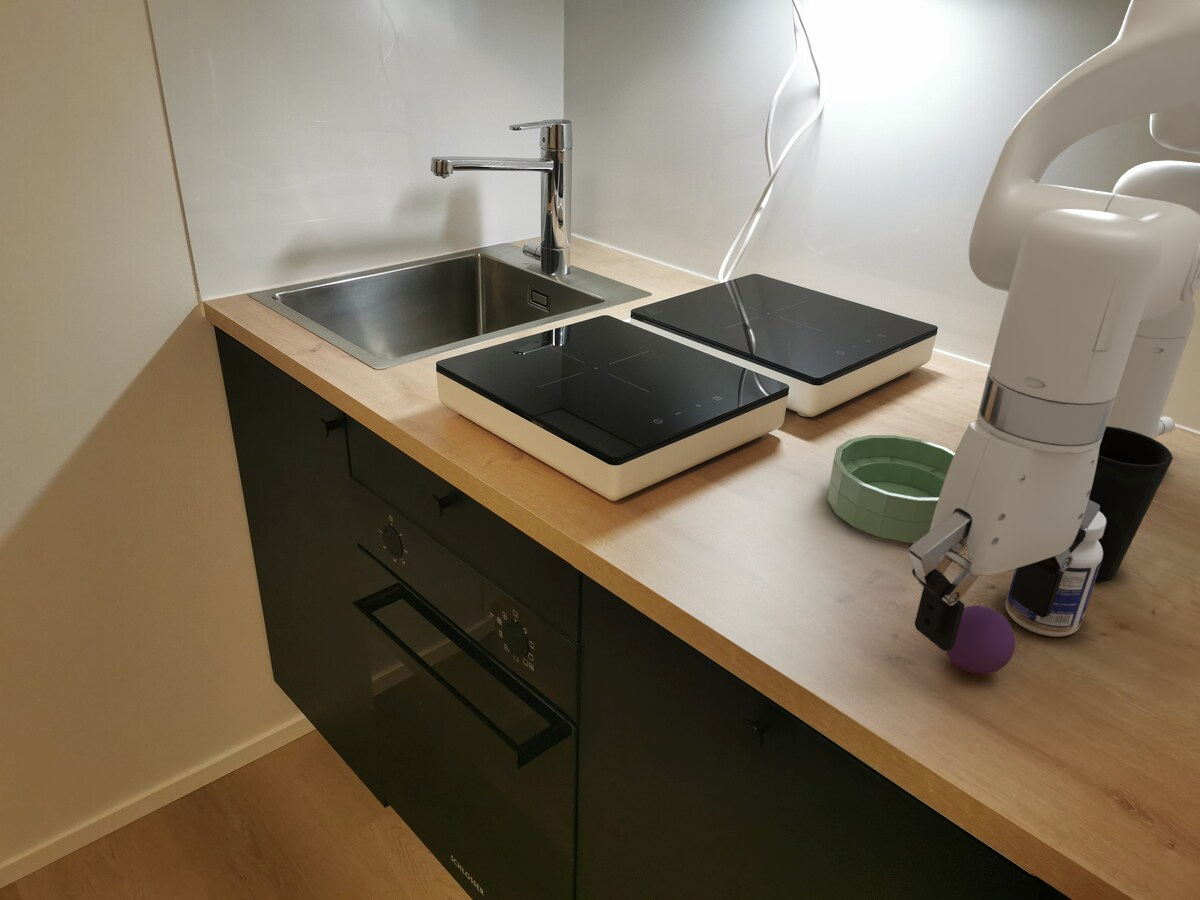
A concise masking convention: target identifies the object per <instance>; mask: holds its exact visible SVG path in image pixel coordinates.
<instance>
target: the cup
mask: <svg viewBox="0 0 1200 900" xmlns="http://www.w3.org/2000/svg"><path fill="white" fill-rule="evenodd" d="M1173 459H1174V458H1173V454H1172V452H1171V451H1170V450H1169V448H1168V447H1167V446H1165V445H1164V444H1163V443H1162V442H1159V441H1158V440H1156V439H1152V438H1150V437H1148V436H1145V435H1143V434H1140V433H1137V432H1133V431H1130V430H1126V429H1121V428H1116V427H1109V426H1106V429H1105V432H1104V435H1103V438H1102V441H1101V444H1100V448H1099V454H1098V460H1097V466H1096V471H1095V475H1094V480H1093V484H1092V488H1091V492H1090V496H1089V499H1090V500H1091V501H1093V502H1095V503H1097V504H1099V505H1100V509H1099V511H1100V512H1101V513H1102V514H1103V515H1104V516H1105V518H1106V526H1105V529H1104V533H1103V536H1102V537H1101V538H1100V539H1099V540H1098V541H1099V543H1100V544H1101V546H1102V549H1103V557H1102V561H1101V565H1100V568H1099V571H1098V574H1097V577H1096V580H1095V583H1104V582H1108V581H1111V580H1112V579H1114V578H1115V577H1116V575H1117V573H1118V570H1119V569H1120V567H1121V564H1122V563H1123V561H1124V558H1125V556H1126V554H1127V552H1128V551H1129V549H1130V546H1131V544H1132V542H1133V540H1134V539H1135V536H1136V534H1137V532H1138V530H1139V529H1140V526H1141V524H1142V522H1143V520H1144V519H1145V517H1146V514H1147V512H1148V510H1149V508H1150V506H1151V504H1152V502H1153V500H1154V498H1155V496H1156V494H1157V492H1158V490H1159V488H1160V486H1161V484H1162V483H1163V479H1164V478H1165V475H1166V474H1167V471H1168V470H1169V467H1171V464H1172V462H1173Z"/></svg>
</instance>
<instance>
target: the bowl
mask: <svg viewBox="0 0 1200 900" xmlns="http://www.w3.org/2000/svg"><path fill="white" fill-rule="evenodd" d="M954 454H955V451H952V450H950V449H949V448H947V447H945V446H942V445H939V444H935V443H933V442H929V441H927V440H923V439H920V438H914V437H908V436H902V435H895V434H872V435H871V434H868V435H864V436H860V437H854V438H850V439H848V440H846V441H844V443H842V444H840V445H839V446H838V447H836V449H835V453H834V457H833V462H832V467H831V468H832V469H831V473H830V474H831V475H830V480H829V485H828V492H827V496H826V500H827V501H828V503H829V505H830V507H831V509H832V511H833V512H834V513H835V515H837V516H838V517H840V519H842V520H844V521H845V522H846V523H847V524H849V525H851V526H852V527H854V528H855V529H857V530H860V531H863V532H865V533H867V534H870V535H872V536H875V537H877V538H882V539H887V540H891V541H896V542H903V543H907V544H908V543H909V544H914V543H915V542H917V541H918V540H919V539H921V538H922V537H923V536H925V535H926V534H927V533H928V532H930V527H931V523H932V520H933V516H934V512H935V509H936V506H937V502H938V499H939V496H940V493H941V490H942V487H943V484H944V481H945V478H946V475H947V472H948V469H949V467H950V464H951V462H952V459H953V457H954Z"/></svg>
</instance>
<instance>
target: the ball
mask: <svg viewBox="0 0 1200 900" xmlns="http://www.w3.org/2000/svg"><path fill="white" fill-rule="evenodd" d="M1015 648H1016V636H1015V632H1014V630H1013V627H1012V625H1011V624H1010V622H1009V621H1008V620H1007V618H1006V617H1005V616H1004V615H1003V614H1002V613H1000V612H999V611H997V610H995V609H993V608H992V607H988V606H985V605H976V604H975V605H968V606H964V611H963V615H962V618H961V622H960V626H959V629H958V633H957V637H956V640H955V644H954V647H953V649H951V650H948V651H945V653H946V655H947V656H948V658H949V659H950V661H951V662H952V663H953V664H954V665H955V666H957V667H959V668H960V669H961V670H963V671H965V672H968V673H971V674H975V675H988V674H992V673H996V672H998V671H1000V670H1001V669H1003V668H1004V667H1005V666H1006V665H1007V664H1008V663H1009V662H1010V661H1011V659H1012V657H1013V655H1014V652H1015V650H1016V649H1015Z"/></svg>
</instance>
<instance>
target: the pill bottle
mask: <svg viewBox="0 0 1200 900" xmlns="http://www.w3.org/2000/svg"><path fill="white" fill-rule="evenodd" d="M1105 526H1106V518H1105V516H1104V515H1103V514H1102V513H1101V512H1100V511H1098V513H1097V514H1096V516H1095V518H1094V519H1093V521H1092V522H1091V524H1090V525H1089V527H1088V528H1087V529H1086V528H1085V529H1084V530H1085V531H1086V535H1085V538H1084V539H1083V540H1084V541H1083V542H1081V543H1080V544H1079V545H1078V546H1077V547H1076V549H1075V550H1074V551H1073V552H1072V553H1071V555H1072V557H1073V561H1072V563H1071V565H1070V566H1069V567H1068V568H1067V569H1065V570H1061V569H1059V570H1060V571H1061V572H1063V576H1062V579H1061V583H1060V586H1059V589H1058V592H1057V595H1056V598H1055V601H1054V604H1053V607H1052V610H1051V613H1050V615H1049V616H1046V617H1043V618H1042V617H1040V616H1038V615H1036V614H1035V613H1033V612H1032V611H1030V610H1029V609H1028V608H1026V607H1025V606H1023V605H1022V604H1020V603H1019V602H1017V601H1016V600H1014V599H1013V598H1012V597H1011V596H1010V592H1011V589H1012V586H1013V582H1014V579H1015V576H1016V572H1017V569H1018V568H1016V569H1014V572H1013V575H1012V579H1011V582H1010V586H1009V589H1008V593H1007V596H1006V600H1005V610H1006V611H1007V614H1008V615H1009V617H1010V618H1011V619H1012V620H1013V621H1014V622H1016V624H1018V625H1019V626H1021V627H1022V628H1023V629H1025V630H1028V631H1030V632H1032V633H1035V634H1037V635H1038V634H1039V635H1042V636H1047V637H1057V638H1058V637H1067V636H1070V635H1072V634H1074V633H1076V632H1077V631H1078V630H1079V629H1080V627H1081V626H1082V623H1083V620H1084V617H1085V614H1086V611H1087V608H1088V605H1089V602H1090V599H1091V595H1092V593H1093V589H1094V586H1095V583H1096V582H1095V580H1096V577H1097V574H1098V571H1099V568H1100V565H1101V561H1102V557H1103V549H1102V546H1101V544H1100V543H1099V541H1098V540H1099V539H1100V538H1101V537H1102V536H1103V533H1104V529H1105Z"/></svg>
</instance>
